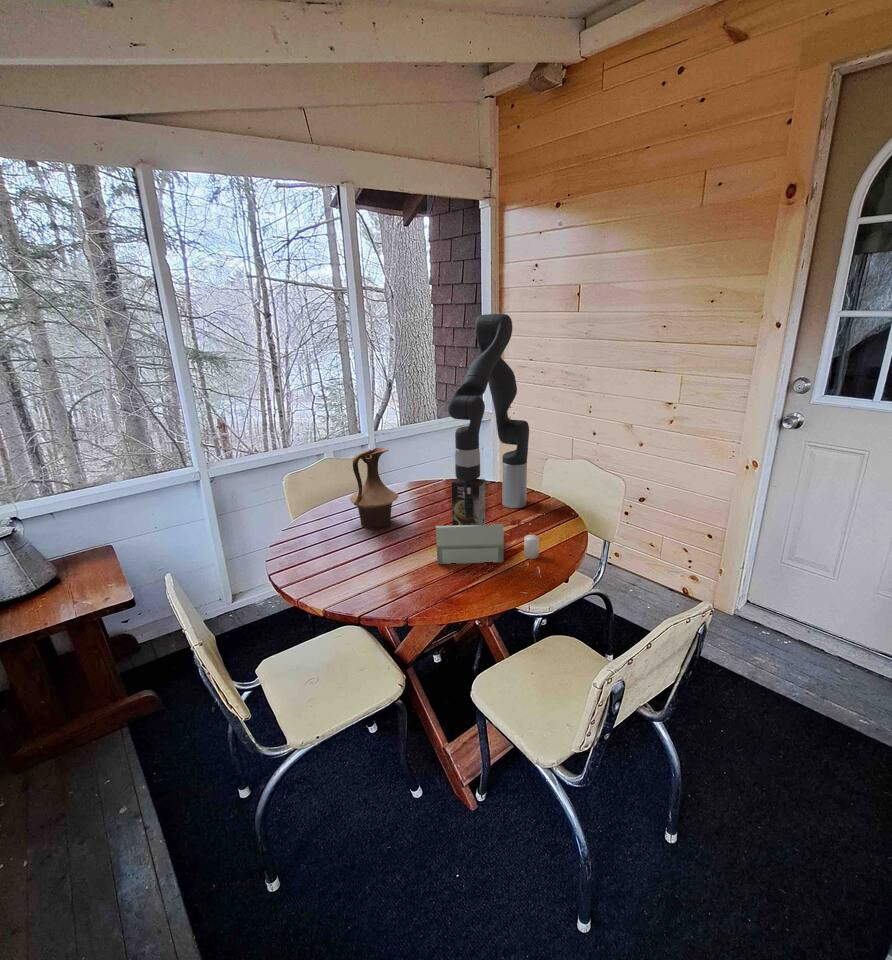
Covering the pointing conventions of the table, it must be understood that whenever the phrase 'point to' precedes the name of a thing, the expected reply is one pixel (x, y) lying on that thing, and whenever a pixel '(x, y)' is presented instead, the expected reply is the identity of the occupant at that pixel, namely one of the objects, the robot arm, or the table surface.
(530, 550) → the white rounded capsule
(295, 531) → the table surface
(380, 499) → the pitcher
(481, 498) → the coffee box
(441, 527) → the mint green corner panel
